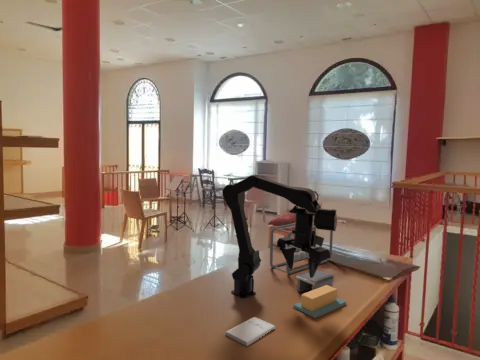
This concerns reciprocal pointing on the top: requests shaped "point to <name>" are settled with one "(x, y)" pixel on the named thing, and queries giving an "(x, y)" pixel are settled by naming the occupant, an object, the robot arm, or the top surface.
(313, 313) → the mat
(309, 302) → the tan rectangular slab
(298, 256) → the newton's cradle
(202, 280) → the top surface
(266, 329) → the external hard drive
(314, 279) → the dispenser
